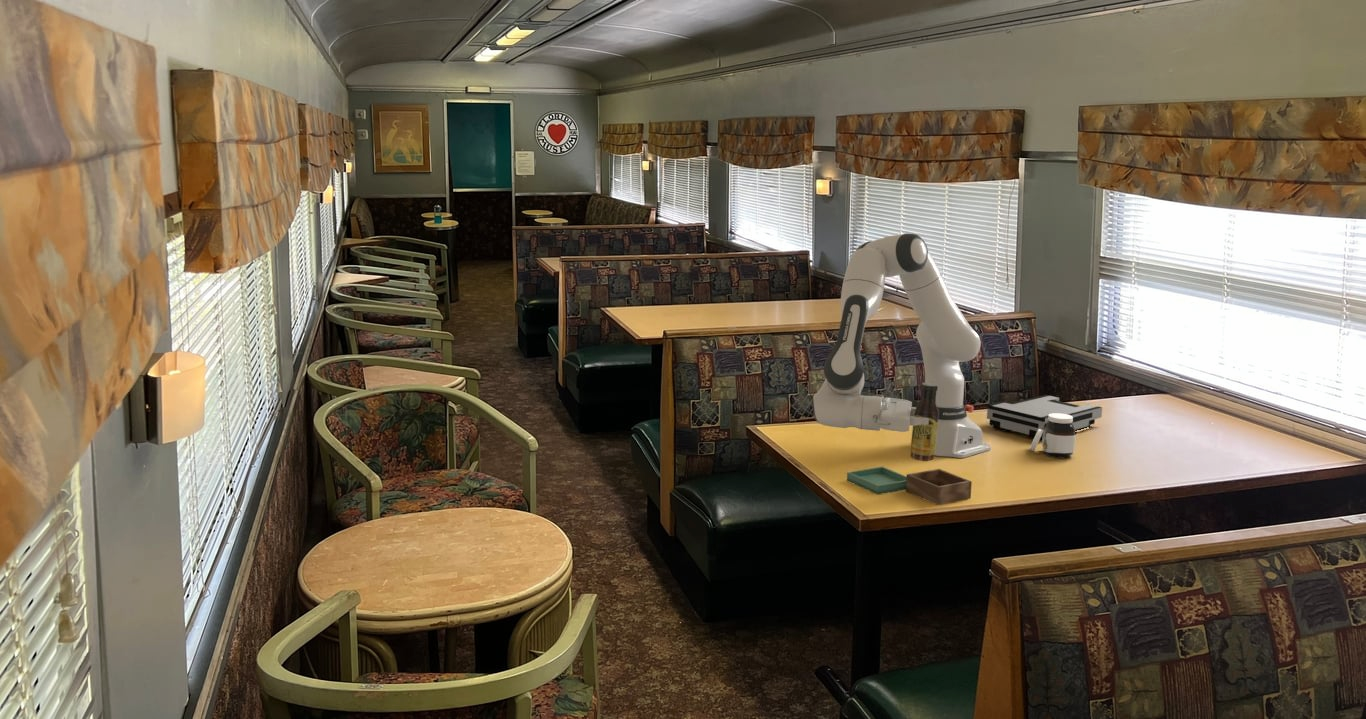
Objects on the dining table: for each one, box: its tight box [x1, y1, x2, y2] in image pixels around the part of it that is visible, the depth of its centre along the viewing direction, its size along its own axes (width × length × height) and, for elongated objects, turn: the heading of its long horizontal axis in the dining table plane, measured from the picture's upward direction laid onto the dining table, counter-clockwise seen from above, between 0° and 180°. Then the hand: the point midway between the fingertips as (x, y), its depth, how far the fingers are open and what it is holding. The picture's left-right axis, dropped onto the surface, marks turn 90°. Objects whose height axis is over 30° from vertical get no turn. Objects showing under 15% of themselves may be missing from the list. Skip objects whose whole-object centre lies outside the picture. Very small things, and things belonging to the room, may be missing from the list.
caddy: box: [905, 468, 973, 506], centre depth 277 cm, size 11×12×4 cm
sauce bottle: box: [910, 382, 939, 462], centre depth 276 cm, size 6×6×20 cm
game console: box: [986, 394, 1103, 441], centre depth 344 cm, size 21×32×8 cm, turn 128°
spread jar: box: [1029, 413, 1076, 458], centre depth 315 cm, size 12×11×12 cm
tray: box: [846, 466, 907, 495], centre depth 285 cm, size 12×13×2 cm
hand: (928, 417), depth 275 cm, fingers closed on sauce bottle, 6 cm apart
